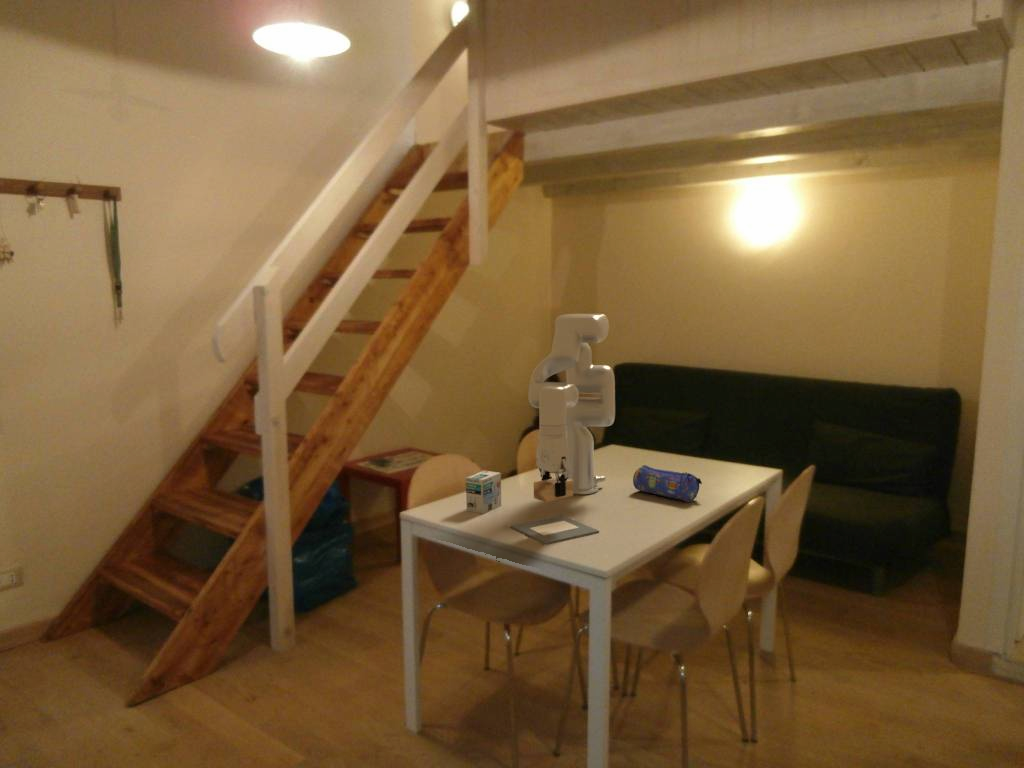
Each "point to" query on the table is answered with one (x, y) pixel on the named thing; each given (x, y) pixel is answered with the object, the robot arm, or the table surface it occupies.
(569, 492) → the tan rectangular block
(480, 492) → the light bulb box
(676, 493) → the pencil case
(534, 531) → the mat
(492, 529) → the table surface
